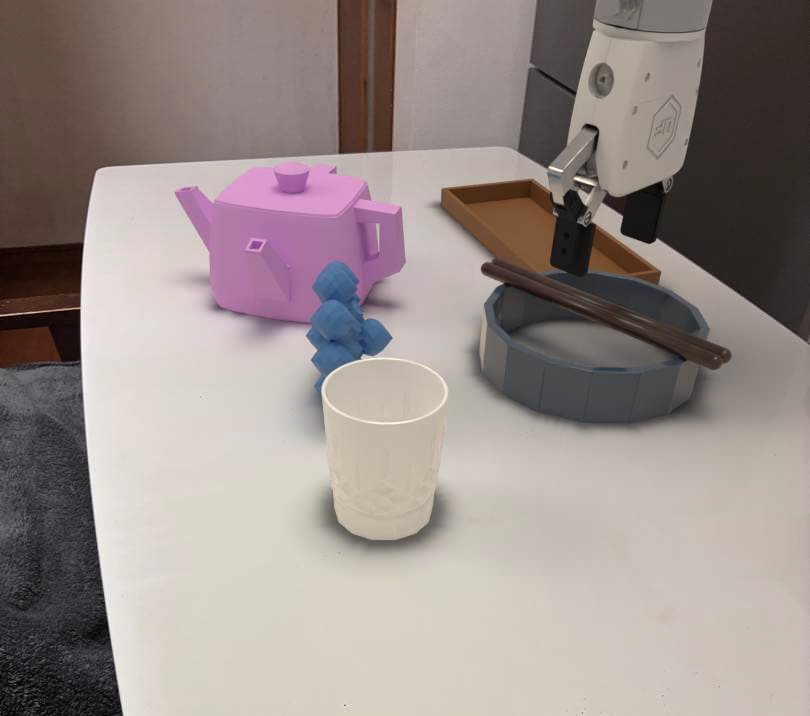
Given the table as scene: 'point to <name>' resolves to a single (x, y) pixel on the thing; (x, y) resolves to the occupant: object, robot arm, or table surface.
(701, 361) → the chopsticks
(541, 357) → the ring
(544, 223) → the tray
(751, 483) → the table surface
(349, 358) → the grapes
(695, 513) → the table surface
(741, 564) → the table surface
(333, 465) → the white cup
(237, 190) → the teakettle
